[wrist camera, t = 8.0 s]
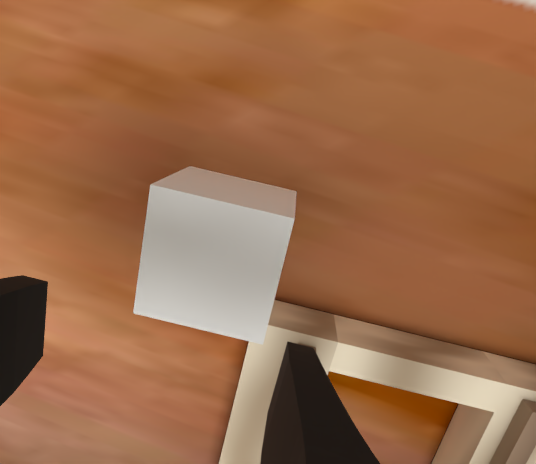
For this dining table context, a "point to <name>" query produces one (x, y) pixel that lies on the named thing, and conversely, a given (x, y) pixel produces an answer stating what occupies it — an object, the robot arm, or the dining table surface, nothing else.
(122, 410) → the dining table surface
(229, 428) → the sliding lid box
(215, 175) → the grey block
